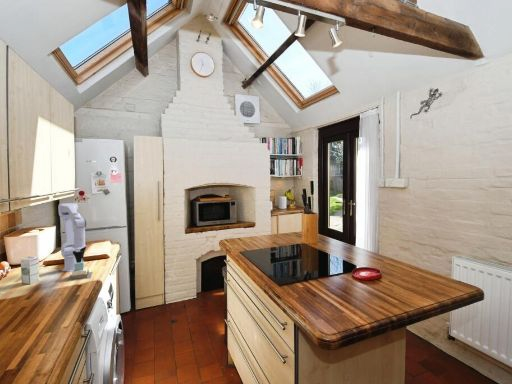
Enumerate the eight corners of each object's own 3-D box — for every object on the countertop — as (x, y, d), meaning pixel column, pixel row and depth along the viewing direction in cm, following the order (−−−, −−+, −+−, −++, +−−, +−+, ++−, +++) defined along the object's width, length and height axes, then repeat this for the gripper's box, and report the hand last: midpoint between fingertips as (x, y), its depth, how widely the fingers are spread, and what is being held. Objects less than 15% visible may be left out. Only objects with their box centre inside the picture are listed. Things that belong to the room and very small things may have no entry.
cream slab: (74, 271, 160) (74, 268, 160) (87, 270, 163) (87, 266, 163) (72, 275, 154) (72, 272, 154) (86, 273, 157) (86, 270, 157)
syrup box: (39, 280, 152) (39, 256, 151) (30, 284, 146) (29, 259, 146) (31, 280, 153) (30, 255, 152) (21, 284, 147) (20, 258, 146)
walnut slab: (73, 275, 160) (73, 271, 160) (88, 273, 164) (88, 269, 164) (71, 279, 153) (71, 276, 153) (87, 277, 157) (87, 274, 157)
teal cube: (75, 268, 159) (75, 261, 159) (84, 267, 161) (84, 260, 161) (74, 271, 155) (74, 263, 155) (83, 270, 157) (83, 262, 157)
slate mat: (70, 275, 161) (70, 274, 161) (92, 272, 167) (92, 271, 167) (66, 282, 150) (66, 281, 150) (90, 278, 156) (90, 278, 156)
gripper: (73, 236, 162) (74, 258, 163) (69, 241, 149) (69, 265, 150) (87, 235, 165) (87, 256, 166) (83, 240, 152) (84, 263, 153)
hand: (79, 260), depth 158 cm, fingers open, 7 cm apart
